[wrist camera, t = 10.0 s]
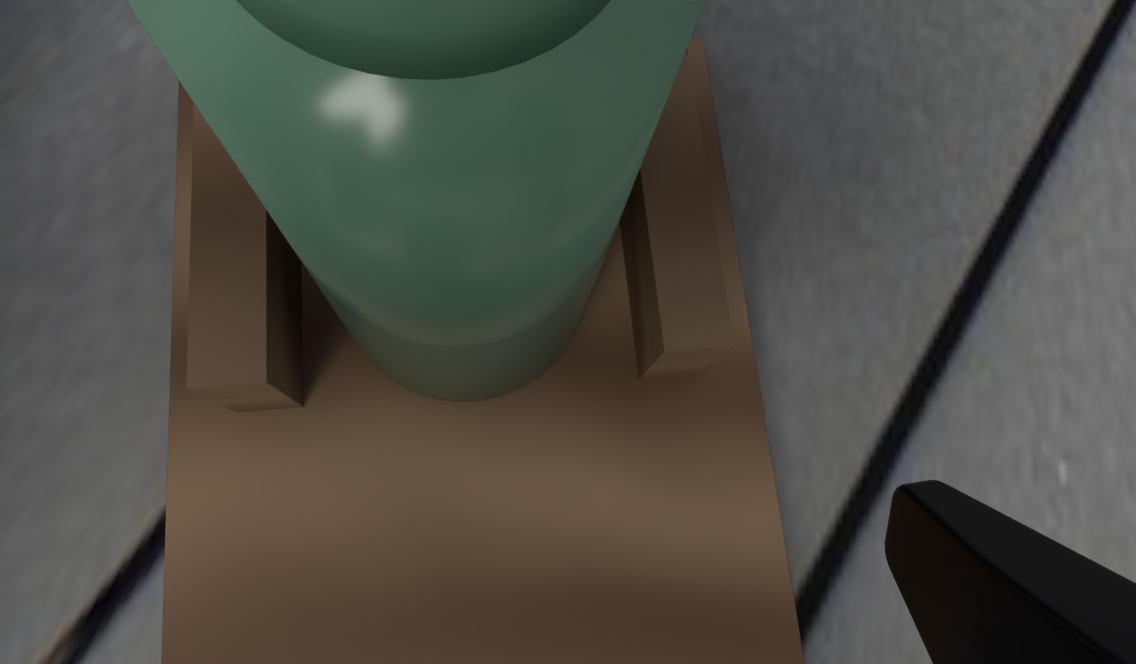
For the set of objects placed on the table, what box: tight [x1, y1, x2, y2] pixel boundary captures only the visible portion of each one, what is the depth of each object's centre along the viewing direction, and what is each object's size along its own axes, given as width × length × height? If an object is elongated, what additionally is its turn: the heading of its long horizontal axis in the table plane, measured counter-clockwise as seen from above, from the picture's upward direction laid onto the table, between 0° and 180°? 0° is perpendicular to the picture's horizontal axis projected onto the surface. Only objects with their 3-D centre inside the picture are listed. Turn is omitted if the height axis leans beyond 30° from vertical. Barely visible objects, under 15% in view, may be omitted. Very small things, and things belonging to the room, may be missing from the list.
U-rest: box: [162, 39, 805, 664], centre depth 18 cm, size 18×14×4 cm
